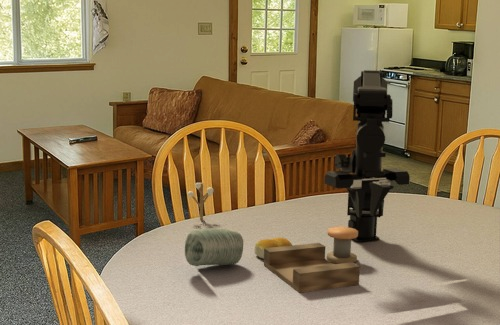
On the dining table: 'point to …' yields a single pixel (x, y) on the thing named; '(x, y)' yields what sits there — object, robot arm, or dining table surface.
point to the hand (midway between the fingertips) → (365, 216)
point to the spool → (213, 247)
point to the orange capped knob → (342, 245)
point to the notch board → (309, 268)
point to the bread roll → (270, 245)
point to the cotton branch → (201, 196)
